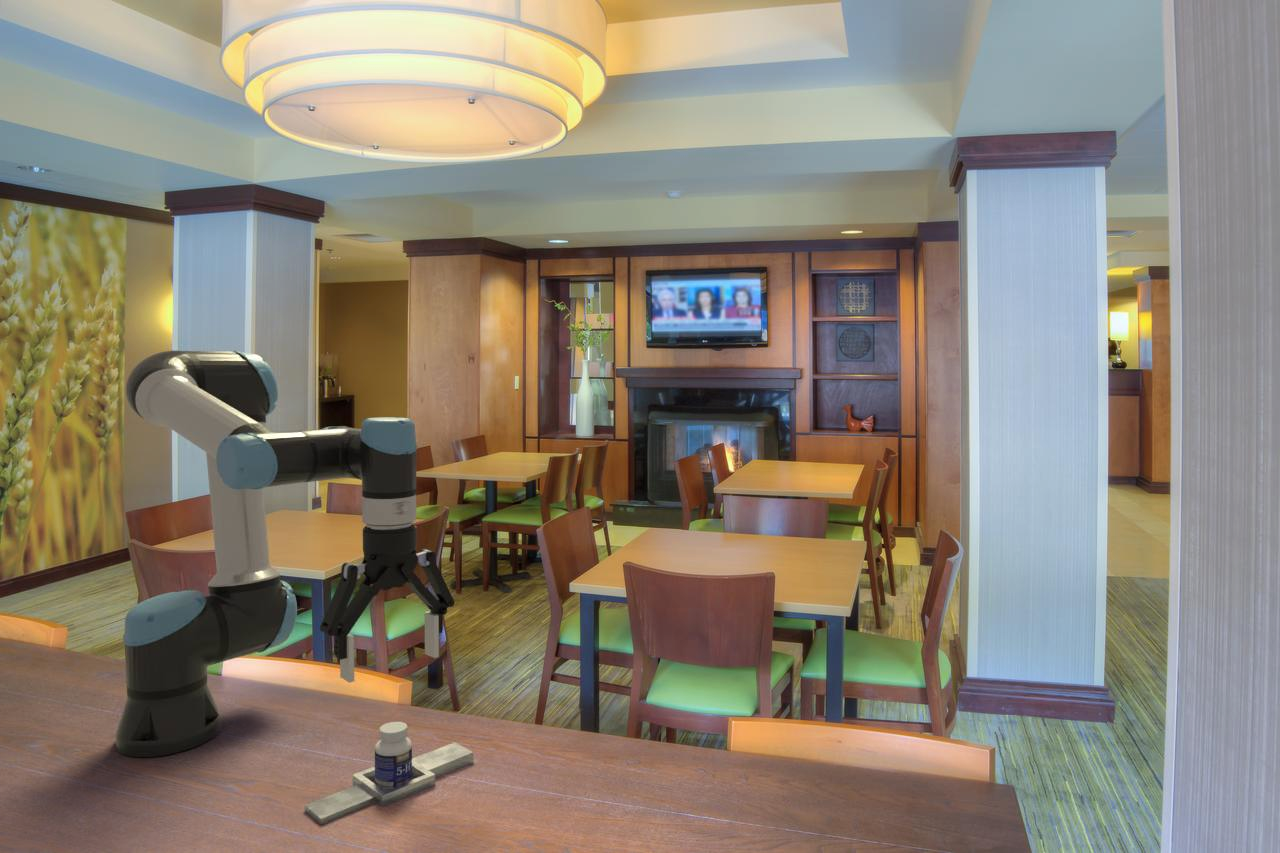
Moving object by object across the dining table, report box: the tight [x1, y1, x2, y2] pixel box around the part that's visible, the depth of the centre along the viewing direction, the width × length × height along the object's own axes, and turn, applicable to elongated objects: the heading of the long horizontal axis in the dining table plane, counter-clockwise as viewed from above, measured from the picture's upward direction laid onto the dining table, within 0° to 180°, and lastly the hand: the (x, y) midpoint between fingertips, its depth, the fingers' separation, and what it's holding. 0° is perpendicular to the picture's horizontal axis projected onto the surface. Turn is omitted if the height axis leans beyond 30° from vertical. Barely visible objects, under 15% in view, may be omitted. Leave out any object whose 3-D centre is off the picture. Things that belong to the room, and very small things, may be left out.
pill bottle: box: [374, 721, 413, 791], centre depth 121 cm, size 5×5×9 cm
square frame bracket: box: [304, 741, 474, 825], centre depth 122 cm, size 25×9×2 cm, turn 136°
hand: (391, 667), depth 120 cm, fingers open, 13 cm apart
